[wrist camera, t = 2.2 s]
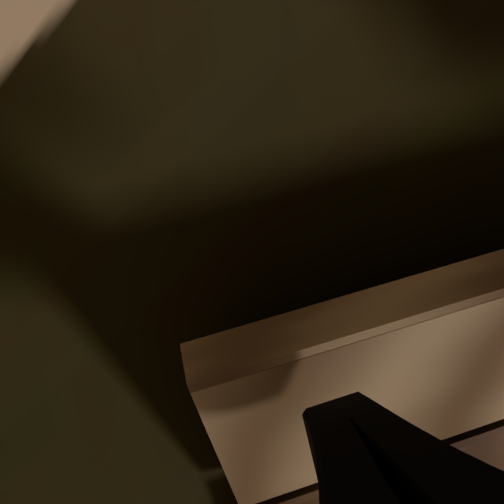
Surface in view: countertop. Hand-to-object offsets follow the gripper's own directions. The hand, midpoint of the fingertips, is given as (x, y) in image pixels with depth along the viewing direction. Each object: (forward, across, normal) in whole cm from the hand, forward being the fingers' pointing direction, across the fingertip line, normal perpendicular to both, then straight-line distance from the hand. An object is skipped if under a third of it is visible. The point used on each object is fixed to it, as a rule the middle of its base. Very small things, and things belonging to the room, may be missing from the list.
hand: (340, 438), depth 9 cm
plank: (+4, -6, +1) cm, 7 cm away
